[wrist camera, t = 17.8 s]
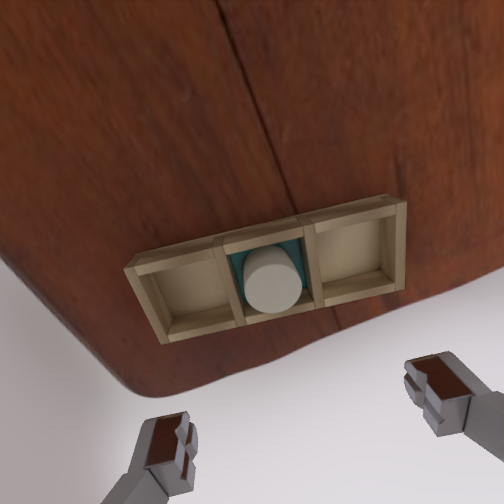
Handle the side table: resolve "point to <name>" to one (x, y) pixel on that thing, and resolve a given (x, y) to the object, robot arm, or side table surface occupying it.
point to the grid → (302, 255)
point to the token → (270, 279)
